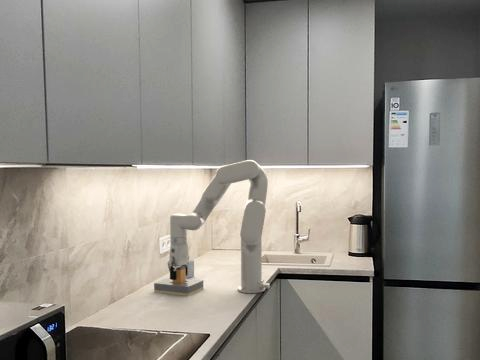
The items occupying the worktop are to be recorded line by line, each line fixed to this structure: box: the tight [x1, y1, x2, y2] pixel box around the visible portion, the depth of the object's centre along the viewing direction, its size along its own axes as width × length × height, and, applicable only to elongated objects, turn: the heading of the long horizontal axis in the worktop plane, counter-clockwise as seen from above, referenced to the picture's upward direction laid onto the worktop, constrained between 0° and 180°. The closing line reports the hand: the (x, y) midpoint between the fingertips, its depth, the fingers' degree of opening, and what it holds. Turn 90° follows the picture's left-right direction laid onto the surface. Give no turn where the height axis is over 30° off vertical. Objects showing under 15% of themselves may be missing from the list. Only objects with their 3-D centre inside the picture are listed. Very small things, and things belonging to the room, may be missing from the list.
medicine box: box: [186, 259, 195, 279], centre depth 252 cm, size 8×4×9 cm, turn 149°
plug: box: [173, 266, 186, 284], centre depth 224 cm, size 4×4×10 cm
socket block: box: [153, 277, 204, 296], centre depth 224 cm, size 18×14×4 cm
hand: (178, 277), depth 224 cm, fingers open, 9 cm apart
